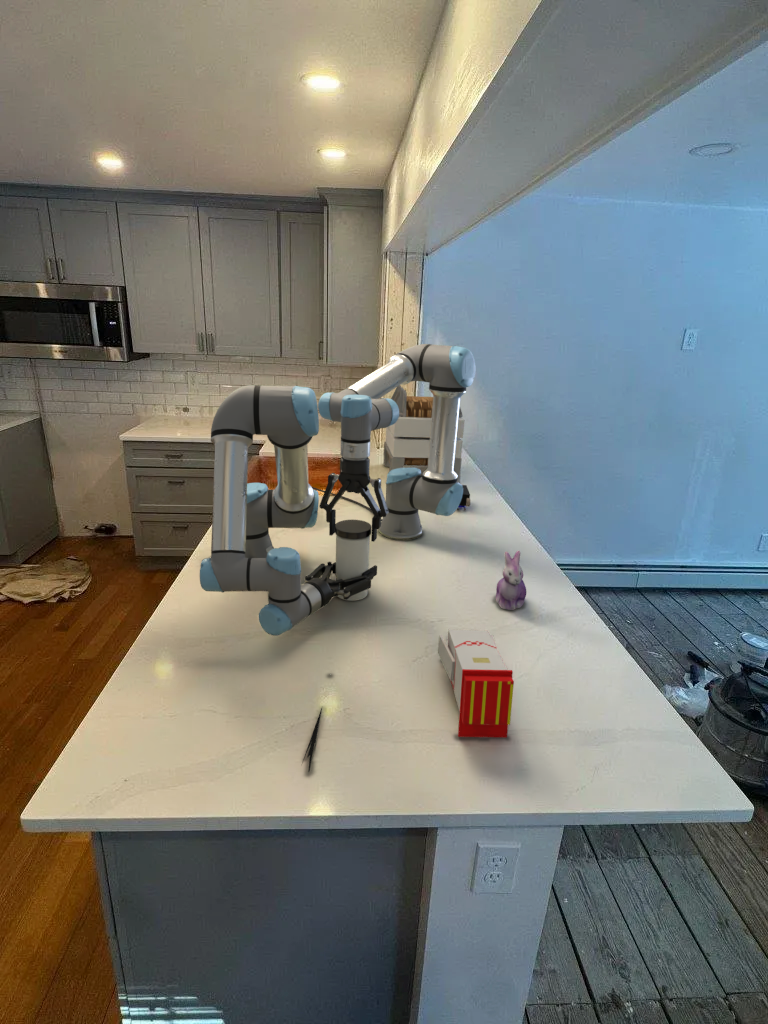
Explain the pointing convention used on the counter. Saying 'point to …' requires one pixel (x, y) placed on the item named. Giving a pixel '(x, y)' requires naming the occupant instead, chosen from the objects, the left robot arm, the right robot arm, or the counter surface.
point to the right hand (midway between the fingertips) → (352, 536)
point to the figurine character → (465, 498)
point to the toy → (478, 682)
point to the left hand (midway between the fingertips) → (361, 565)
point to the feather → (313, 740)
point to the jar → (352, 561)
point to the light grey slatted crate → (415, 433)
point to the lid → (353, 529)
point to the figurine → (511, 584)
